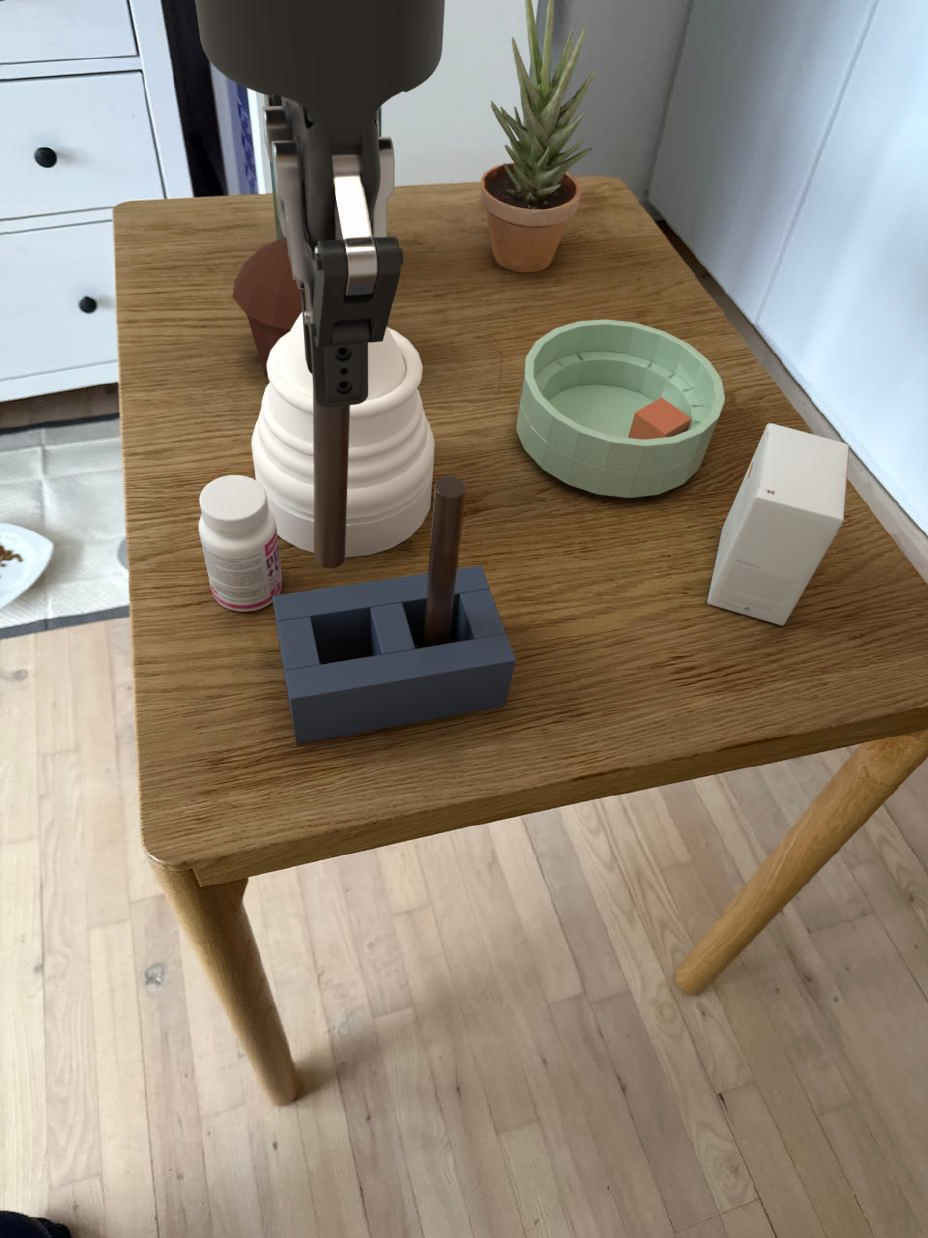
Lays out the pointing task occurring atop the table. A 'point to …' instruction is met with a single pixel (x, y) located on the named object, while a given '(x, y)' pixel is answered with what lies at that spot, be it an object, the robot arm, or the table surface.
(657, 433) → the block
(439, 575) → the brown wooden peg
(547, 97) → the potted plant
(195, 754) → the table surface
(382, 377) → the honey pot
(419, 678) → the stand
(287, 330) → the muffin
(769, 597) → the small box
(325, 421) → the brown rod
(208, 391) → the table surface
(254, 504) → the pill bottle
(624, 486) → the bowl
